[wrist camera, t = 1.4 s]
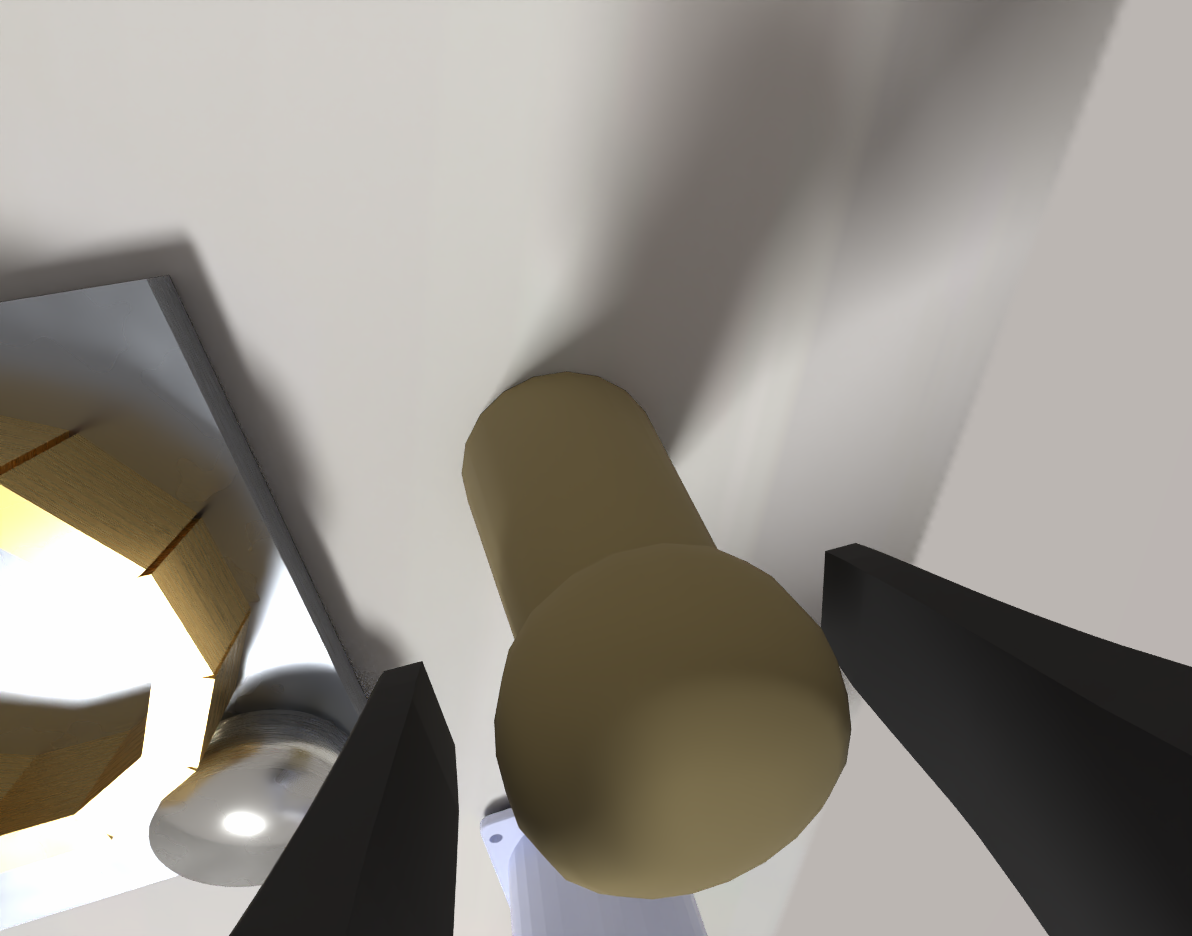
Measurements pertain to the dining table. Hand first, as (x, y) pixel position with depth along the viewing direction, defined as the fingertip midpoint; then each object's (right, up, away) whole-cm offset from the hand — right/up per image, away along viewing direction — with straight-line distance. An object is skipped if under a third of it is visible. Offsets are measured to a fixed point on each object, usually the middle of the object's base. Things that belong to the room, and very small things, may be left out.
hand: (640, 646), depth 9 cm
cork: (-2, +3, +7) cm, 8 cm away
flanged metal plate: (-16, -2, +6) cm, 17 cm away
